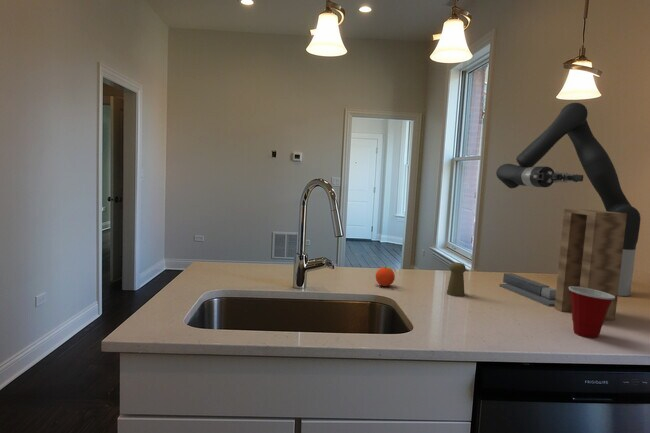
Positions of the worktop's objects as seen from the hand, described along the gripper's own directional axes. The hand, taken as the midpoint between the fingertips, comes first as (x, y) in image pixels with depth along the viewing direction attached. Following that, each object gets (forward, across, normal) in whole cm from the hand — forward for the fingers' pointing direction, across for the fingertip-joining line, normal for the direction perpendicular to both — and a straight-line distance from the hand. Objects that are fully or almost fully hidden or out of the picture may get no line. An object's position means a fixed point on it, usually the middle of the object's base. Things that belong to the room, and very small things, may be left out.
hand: (571, 177), depth 148 cm
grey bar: (-11, -4, +41) cm, 43 cm away
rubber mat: (-7, -4, +42) cm, 43 cm away
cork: (-10, -33, +42) cm, 55 cm away
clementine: (-23, -54, +42) cm, 72 cm away
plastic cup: (+30, -18, +42) cm, 55 cm away
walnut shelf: (+14, -4, +42) cm, 44 cm away
